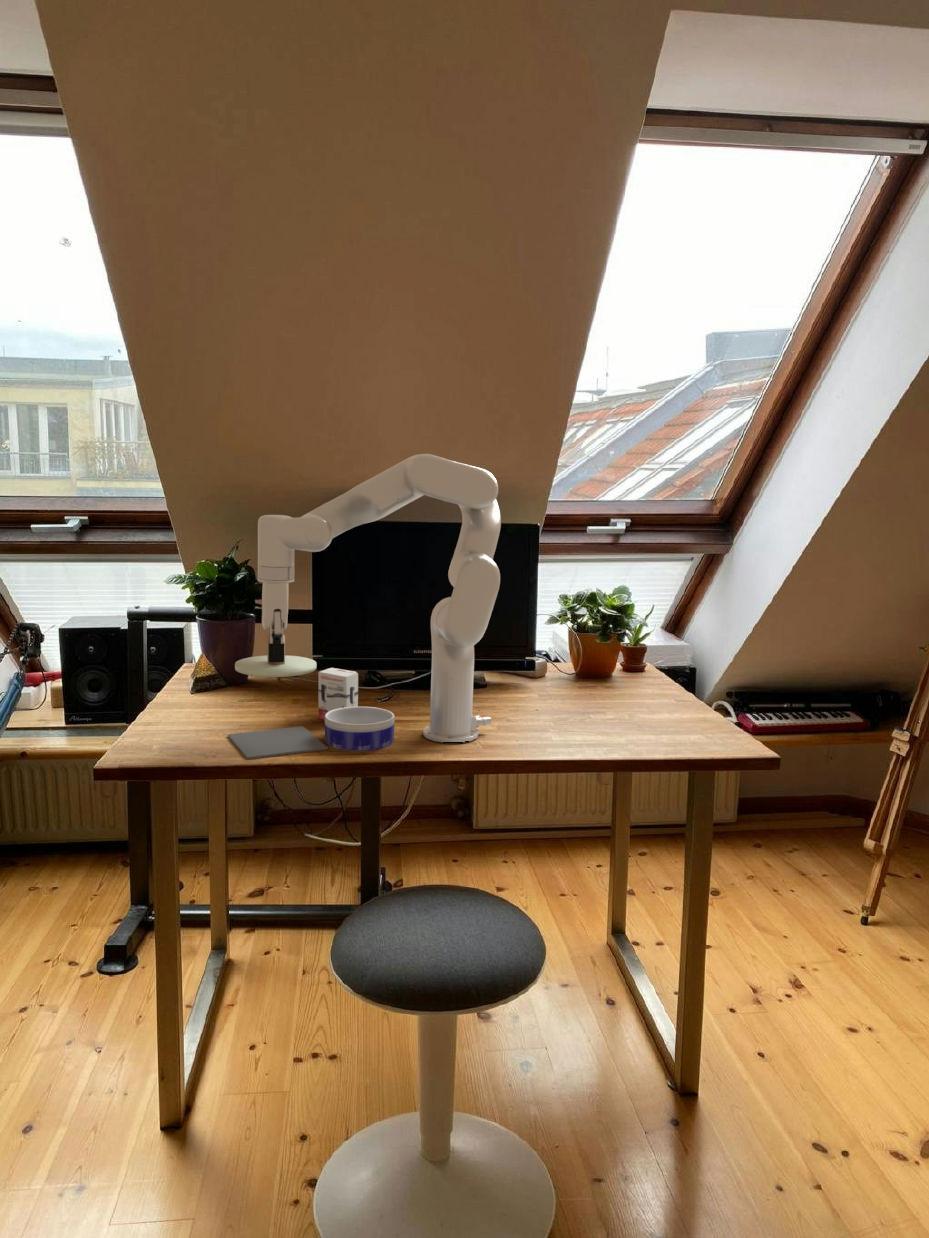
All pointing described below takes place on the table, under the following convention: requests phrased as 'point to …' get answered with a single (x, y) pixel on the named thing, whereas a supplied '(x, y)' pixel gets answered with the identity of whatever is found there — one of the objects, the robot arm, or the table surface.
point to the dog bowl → (359, 728)
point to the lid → (275, 665)
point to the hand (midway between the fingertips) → (275, 659)
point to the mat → (276, 742)
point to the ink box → (337, 690)
